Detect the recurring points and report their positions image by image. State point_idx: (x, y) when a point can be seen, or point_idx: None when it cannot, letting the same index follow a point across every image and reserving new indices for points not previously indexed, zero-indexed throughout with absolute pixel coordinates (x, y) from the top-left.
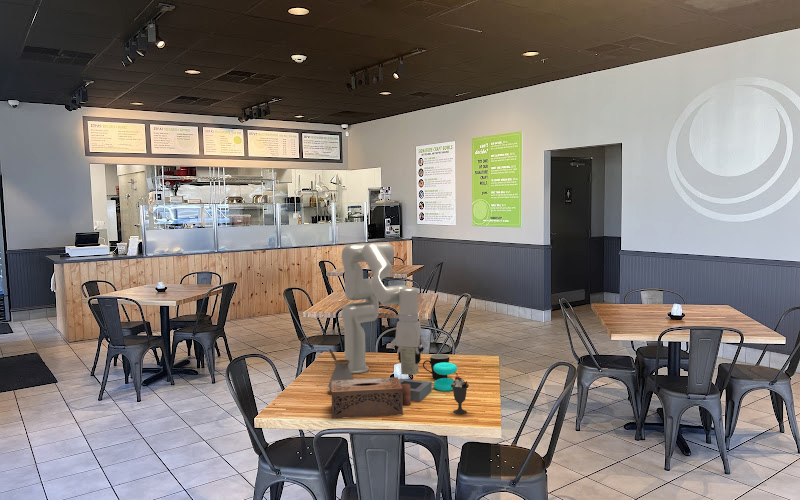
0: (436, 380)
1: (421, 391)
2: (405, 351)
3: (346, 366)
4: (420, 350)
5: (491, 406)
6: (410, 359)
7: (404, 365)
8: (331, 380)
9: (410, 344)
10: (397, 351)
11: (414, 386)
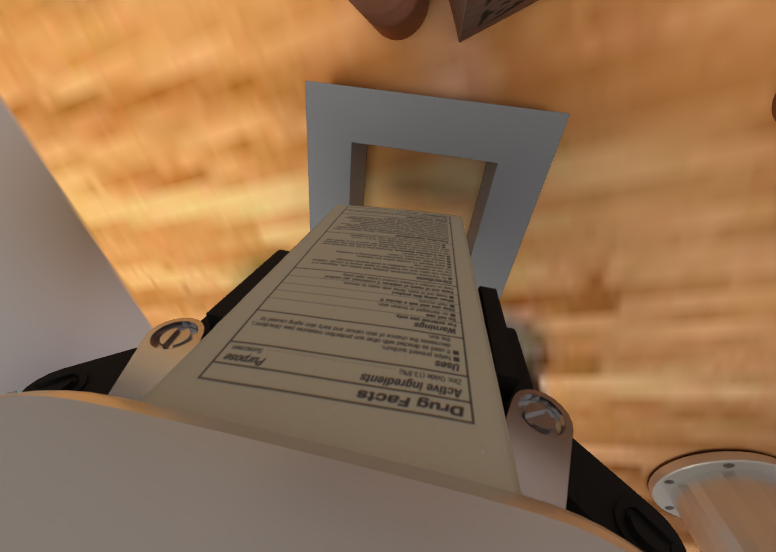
0: None
1: (310, 121)
2: (381, 362)
3: None
4: (114, 369)
5: (15, 105)
6: (332, 269)
7: (426, 243)
8: None
9: (91, 509)
10: (559, 413)
11: None
